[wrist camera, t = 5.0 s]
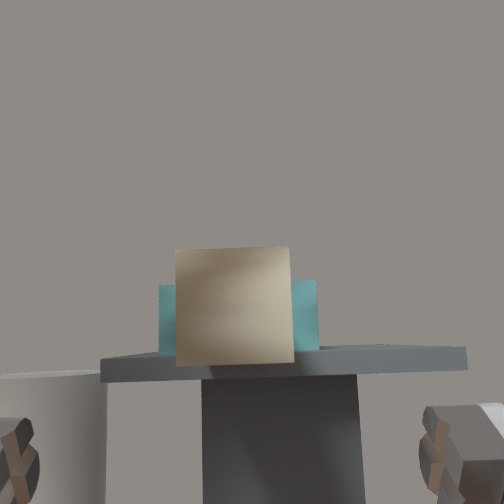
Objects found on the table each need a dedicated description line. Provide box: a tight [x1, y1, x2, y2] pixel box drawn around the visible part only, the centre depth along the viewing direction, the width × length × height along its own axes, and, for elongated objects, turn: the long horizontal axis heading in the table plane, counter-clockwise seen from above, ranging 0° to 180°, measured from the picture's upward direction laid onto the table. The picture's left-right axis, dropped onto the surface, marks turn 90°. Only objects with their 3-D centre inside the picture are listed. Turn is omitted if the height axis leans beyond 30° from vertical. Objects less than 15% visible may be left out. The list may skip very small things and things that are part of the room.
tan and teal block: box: [159, 247, 319, 367], centre depth 22 cm, size 8×20×4 cm, turn 1°
